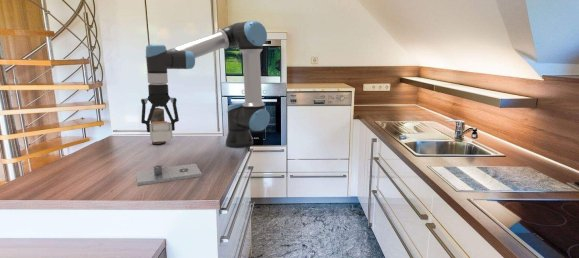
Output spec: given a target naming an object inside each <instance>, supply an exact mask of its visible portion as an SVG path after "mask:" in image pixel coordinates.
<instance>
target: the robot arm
mask: <svg viewBox="0 0 579 258" xmlns="http://www.w3.org/2000/svg"><path fill="white" fill-rule="evenodd" d="M267 38H268V34H267V29H266V27H265V26H264V25H263V23H261V22H259V21H257V20H248V21H242V22H236V23H233V24H230V25H228V26H225V27H224V28H221V29H218V30H217V32H216V33H214V34H210V35H207V36H205V37H204V36H203V37H202V38H199V39H196V40H193V41H190V42H187V43H184V44H182V45H179V46H175V47H173V48H169V49H167V47H166V45H164V44H147V45H146V46H145V60H146V73H147V74H146V75H147V76H146V77H147V83H148V85H147V88H148V89H147V91H148V96H147V97H146V98H145V97H144V98H140V102H141V121H140V122H141V124H145V125H146V133H149V135H150V136H149V137H150V138H149V139H150V141H151V142H152V140H153V139H152V124H151V118H152V115H153V112H154V109H155V108H163V109H164V111H165V112H166V114H167V115H168V116H167V117H168V118H169V121H170V122H169V123H170V131H171V140H173V132H174V131H175V130H176V129H175V128H176V126H175V123H177V122H179V121H180V119H179V114H178V108H177V98H176V97H171V96H170V94H169V85H168V83H169V79H168V70H172V69H173V70H192V69H193V68H194V67H195V66H196V59H197V58H199V57H202V56H205V55H207V54H209V53H210V54H211V53H213V52H215V51H218V50H220V49H225V50H226V49H227V50H228V49H229V48H236V47H237V48H238V49H239V52H240V53H241V54H242V69H243V85H244V86H243V87H244V89H243V90H244V102H242V103H232V104H229V105H228V106H227V111H226V112H227V128H228V131H227V134H226V139H225V147H229V148H231V149H232V148H235V149H242V148H249V147H251V146H253V145H254V139H253V137H252V133H251V131H255V132H261V131H263V130H265V129H266V128H267V126H268V125H269V123H270V119H271V116H270V112H269V111H268V109H266V103H265V102H263V99H262V98H263V97H262V96H263V94H262V93H263V92H262V73H261V72H262V71H261V52H262V51H263V50H264V47H263V46H264V44H266V41H268V40H267ZM169 101H170V102H171V104H172V110H173V115H174V118H173V116H172V113H171V111H170V109H169V107H168V105H167V104H168V103H169ZM148 102H149V103H151V104H150V105H151V107H150V109H151V110H150V109H149V114H148V116H147V119H146V105H147V104H148Z"/></svg>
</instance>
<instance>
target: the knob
mask: <svg viewBox="0 0 579 258" xmlns="http://www.w3.org/2000/svg"><path fill="white" fill-rule="evenodd" d="M170 123H171V122H169V121H167V120H165V121H162V122H152V139H153V142H160V141H166V142H171V141H172V139H171V131H170Z"/></svg>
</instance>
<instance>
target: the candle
mask: <svg viewBox="0 0 579 258" xmlns="http://www.w3.org/2000/svg"><path fill="white" fill-rule="evenodd" d="M150 110H151V108H150V109H149V111H150ZM162 121H166V120H165V108H162V107H155V109H154V112H153V115H152V118H151V121H150V124H152V122H162ZM166 142H167V141H160V142H153V140H152V141H151V143H152V145H162V144H163V145H164V144H165V143H166Z"/></svg>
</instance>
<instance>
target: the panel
mask: <svg viewBox="0 0 579 258" xmlns="http://www.w3.org/2000/svg"><path fill="white" fill-rule="evenodd" d="M198 177H199V178H200V177H203V173H202V172H201V169H200V168H199V167H198V165H197V164H196V163H191V164H183V165H182V164H181V165H175V166H166V167H162V165H155V166H153V168H152V169H144V170H136V185H137V187H139V186H145V185H149V184H150V185H151V184H157V183H164V182H165V183H166V182H171V181H178V180H184V179H192V178H198Z"/></svg>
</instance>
